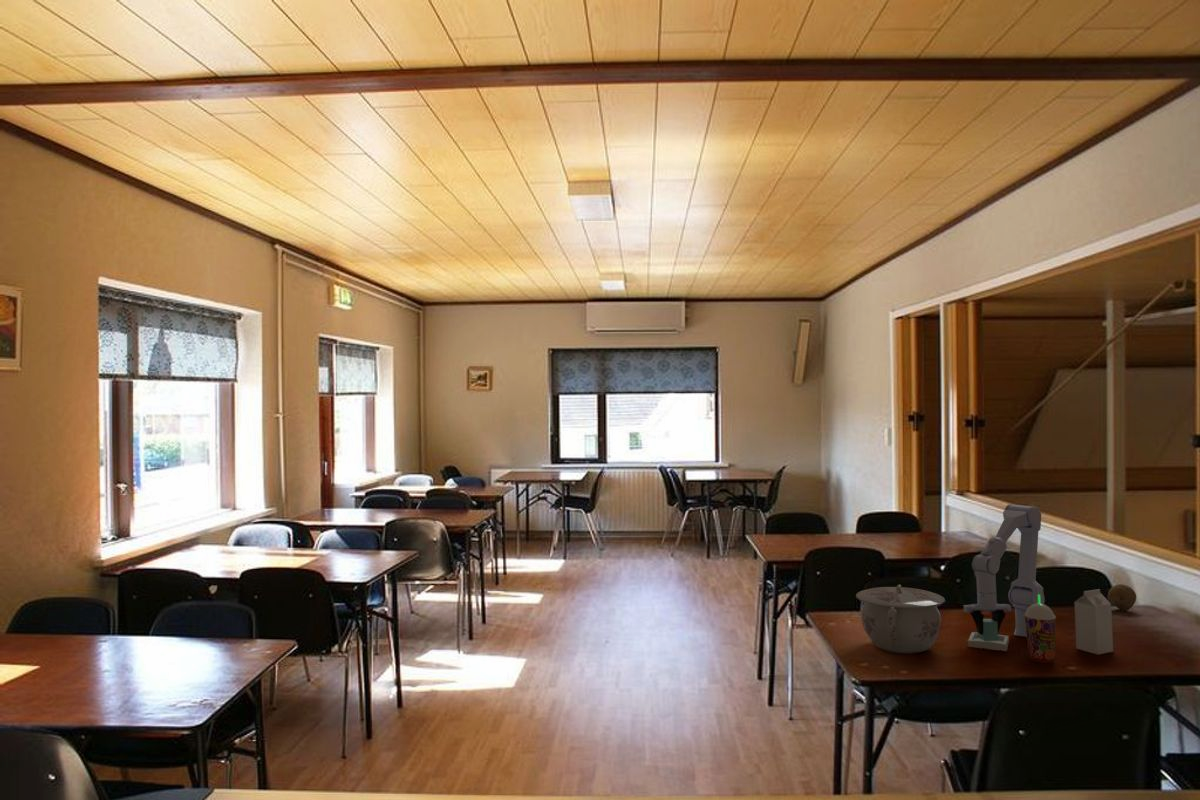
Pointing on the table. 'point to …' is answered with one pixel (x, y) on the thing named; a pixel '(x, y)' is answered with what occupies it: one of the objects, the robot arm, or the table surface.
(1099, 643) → the milk carton
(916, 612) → the chamber pot
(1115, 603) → the brown coconut
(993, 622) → the block
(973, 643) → the tray
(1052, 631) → the smoothie
